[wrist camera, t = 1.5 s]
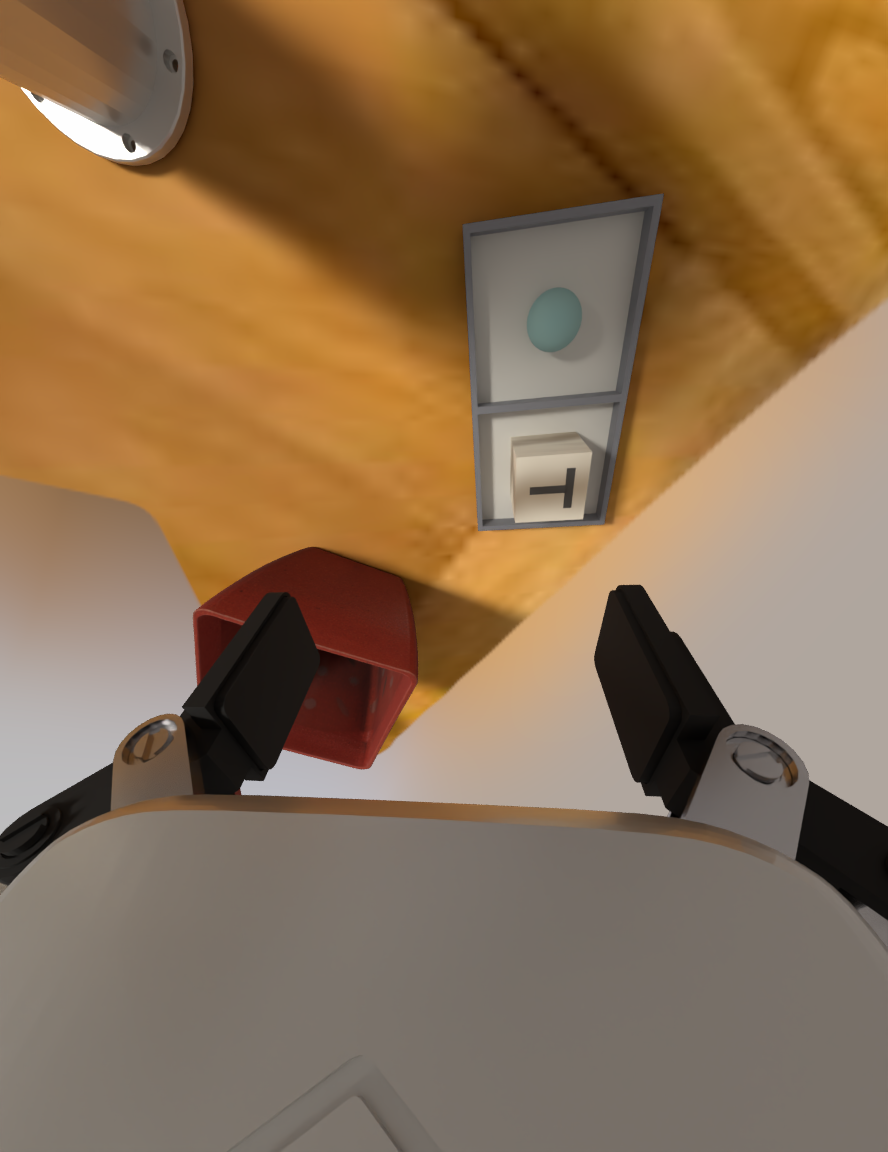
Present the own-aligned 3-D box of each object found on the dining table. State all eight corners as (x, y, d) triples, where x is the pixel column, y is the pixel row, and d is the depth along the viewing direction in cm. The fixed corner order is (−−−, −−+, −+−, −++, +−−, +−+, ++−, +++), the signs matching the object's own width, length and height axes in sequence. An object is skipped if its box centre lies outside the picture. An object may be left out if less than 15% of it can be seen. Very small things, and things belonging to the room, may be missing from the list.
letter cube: (510, 437, 34) (516, 457, 30) (576, 431, 34) (592, 452, 29) (510, 495, 38) (515, 522, 33) (569, 492, 37) (583, 519, 32)
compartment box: (463, 229, 26) (462, 224, 25) (651, 201, 25) (664, 193, 23) (478, 522, 40) (478, 530, 39) (598, 515, 39) (604, 524, 37)
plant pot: (283, 510, 41) (189, 607, 28) (438, 566, 44) (421, 678, 31) (269, 620, 52) (197, 728, 39) (394, 659, 55) (368, 771, 42)
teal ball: (524, 292, 28) (531, 289, 25) (578, 285, 27) (592, 282, 24) (523, 352, 30) (528, 357, 27) (572, 347, 30) (584, 351, 27)
